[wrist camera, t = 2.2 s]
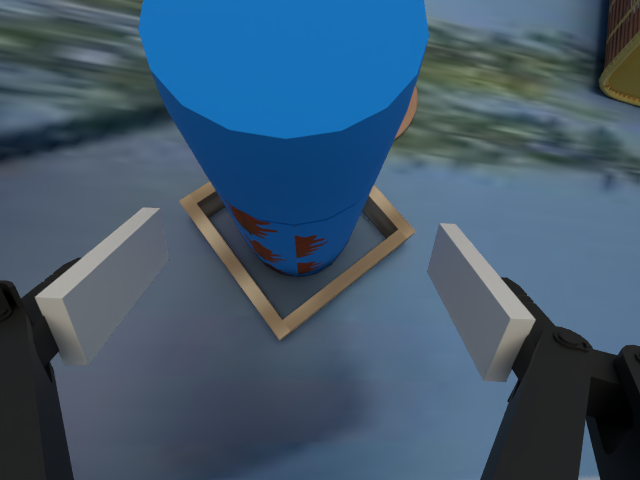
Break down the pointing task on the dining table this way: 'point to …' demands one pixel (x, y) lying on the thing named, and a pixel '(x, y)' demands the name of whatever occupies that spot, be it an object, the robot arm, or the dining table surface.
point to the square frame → (390, 226)
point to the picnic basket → (622, 52)
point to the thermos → (288, 108)
